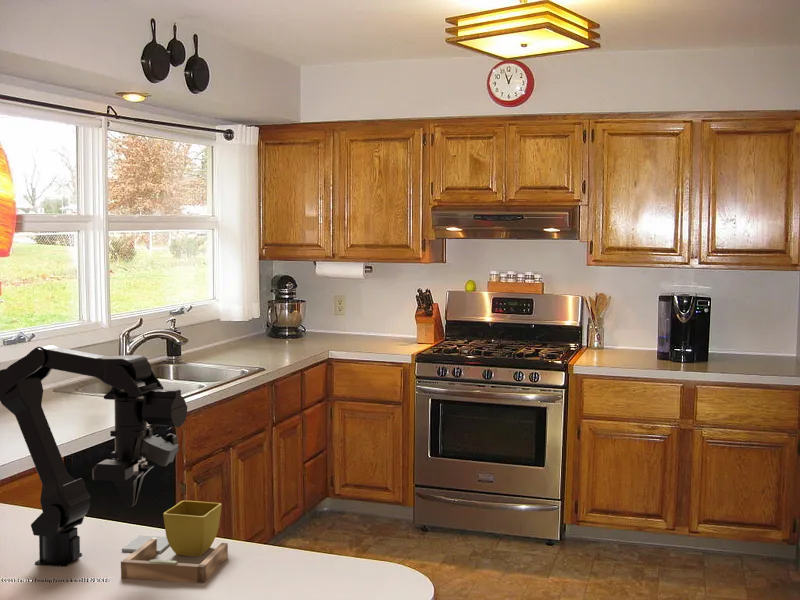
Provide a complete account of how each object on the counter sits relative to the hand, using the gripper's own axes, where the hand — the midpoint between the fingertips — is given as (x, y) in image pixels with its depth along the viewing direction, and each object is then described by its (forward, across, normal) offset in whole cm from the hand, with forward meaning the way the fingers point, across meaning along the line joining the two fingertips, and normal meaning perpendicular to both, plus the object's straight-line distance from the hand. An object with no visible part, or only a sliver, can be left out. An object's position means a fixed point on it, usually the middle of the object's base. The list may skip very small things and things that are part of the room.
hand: (131, 505), depth 159 cm
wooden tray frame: (+12, +1, -8) cm, 14 cm away
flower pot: (+12, +10, -8) cm, 18 cm away
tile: (+12, +12, +2) cm, 17 cm away
